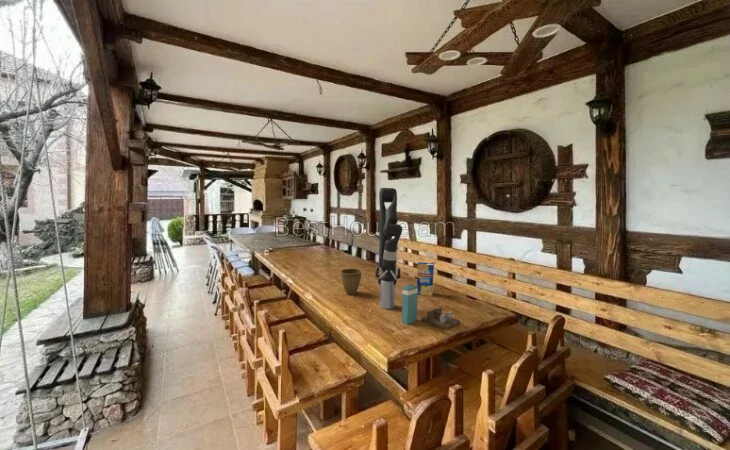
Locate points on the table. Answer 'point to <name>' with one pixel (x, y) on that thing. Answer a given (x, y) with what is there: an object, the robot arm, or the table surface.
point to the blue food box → (425, 278)
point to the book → (409, 304)
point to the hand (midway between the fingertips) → (386, 284)
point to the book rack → (440, 319)
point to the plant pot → (351, 280)
